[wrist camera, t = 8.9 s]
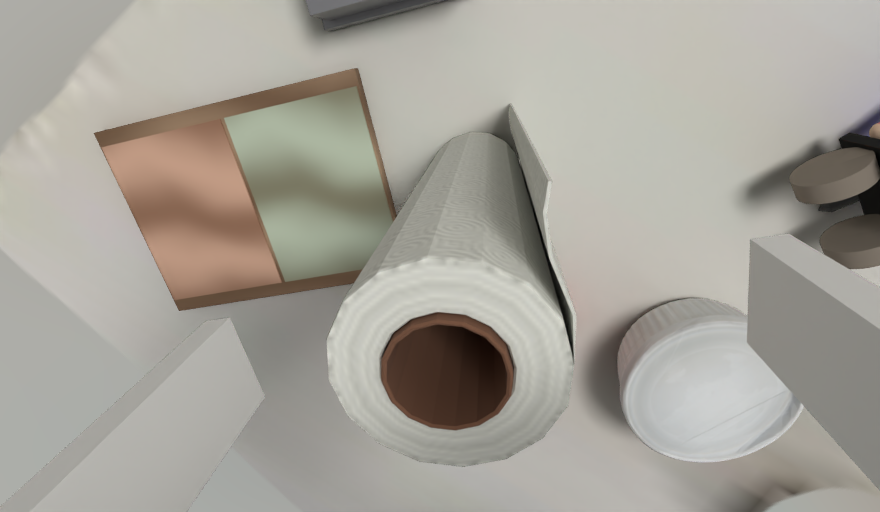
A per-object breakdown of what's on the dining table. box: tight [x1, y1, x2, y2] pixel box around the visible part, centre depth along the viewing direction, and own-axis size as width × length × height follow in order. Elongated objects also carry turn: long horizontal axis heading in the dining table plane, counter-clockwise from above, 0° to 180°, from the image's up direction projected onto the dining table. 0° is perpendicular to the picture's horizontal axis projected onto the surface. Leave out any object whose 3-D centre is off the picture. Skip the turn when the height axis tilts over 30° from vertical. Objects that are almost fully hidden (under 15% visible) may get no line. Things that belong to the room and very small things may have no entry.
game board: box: [94, 68, 397, 311], centre depth 32 cm, size 14×19×1 cm
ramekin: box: [617, 298, 804, 462], centre depth 31 cm, size 11×11×5 cm
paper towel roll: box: [327, 103, 577, 467], centre depth 20 cm, size 7×6×21 cm
